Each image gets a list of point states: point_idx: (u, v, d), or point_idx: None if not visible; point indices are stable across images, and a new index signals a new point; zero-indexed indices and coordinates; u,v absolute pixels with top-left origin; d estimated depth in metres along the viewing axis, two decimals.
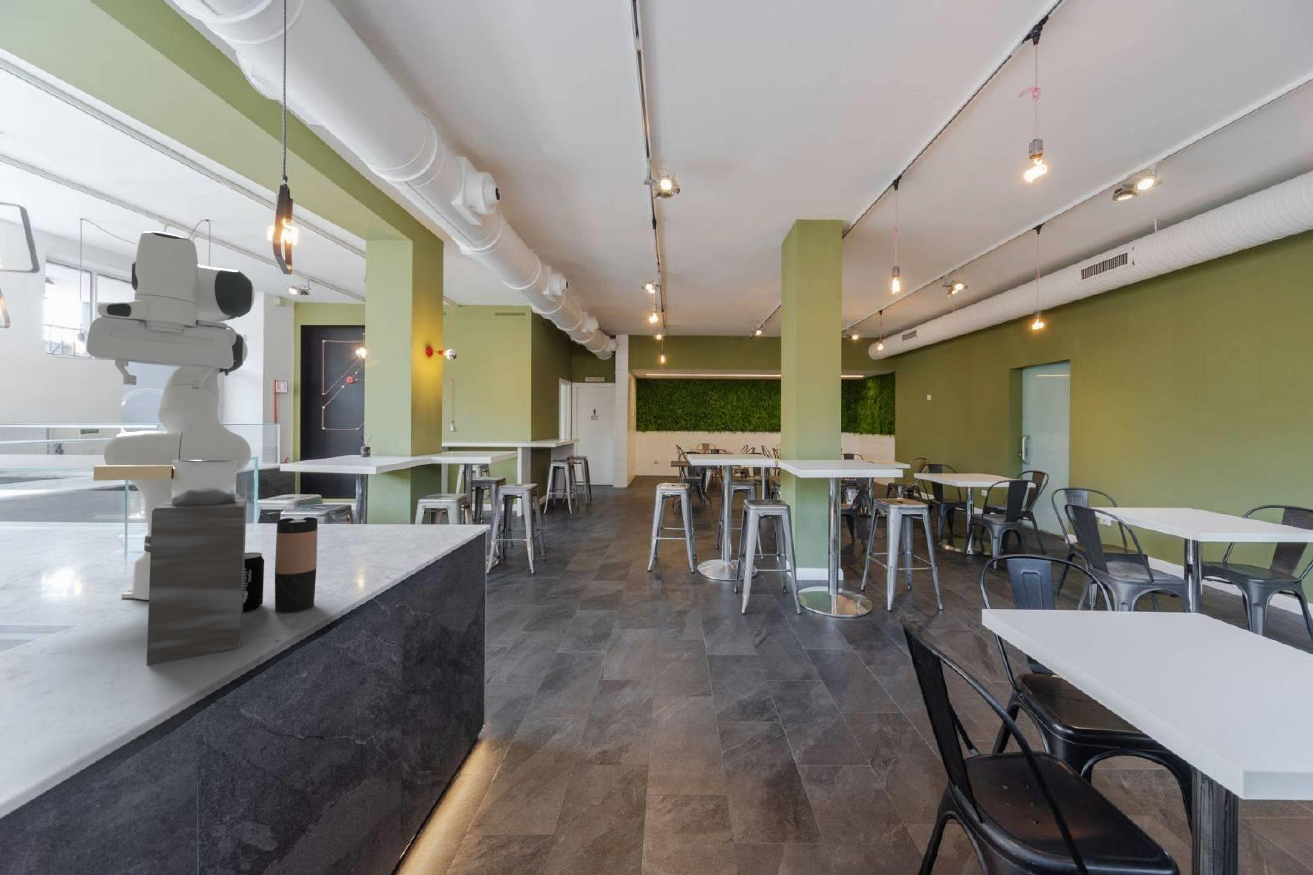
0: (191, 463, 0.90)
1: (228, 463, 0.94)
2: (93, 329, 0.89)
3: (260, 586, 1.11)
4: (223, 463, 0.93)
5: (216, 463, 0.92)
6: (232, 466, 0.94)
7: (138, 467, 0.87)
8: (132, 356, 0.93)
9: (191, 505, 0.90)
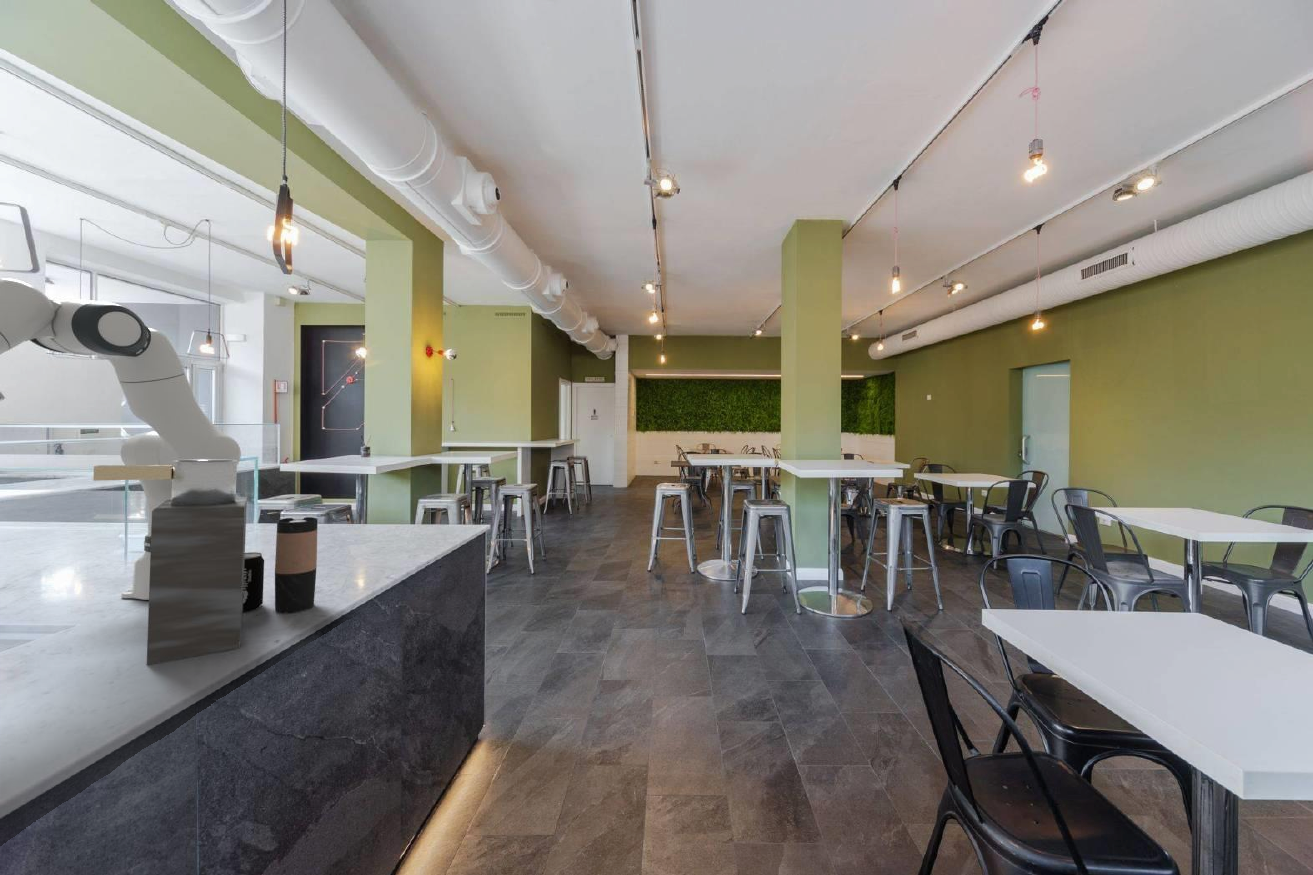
0: (191, 463, 0.90)
1: (228, 463, 0.94)
2: None
3: (260, 586, 1.11)
4: (223, 463, 0.93)
5: (216, 463, 0.92)
6: (232, 466, 0.94)
7: (138, 467, 0.87)
8: None
9: (191, 505, 0.90)
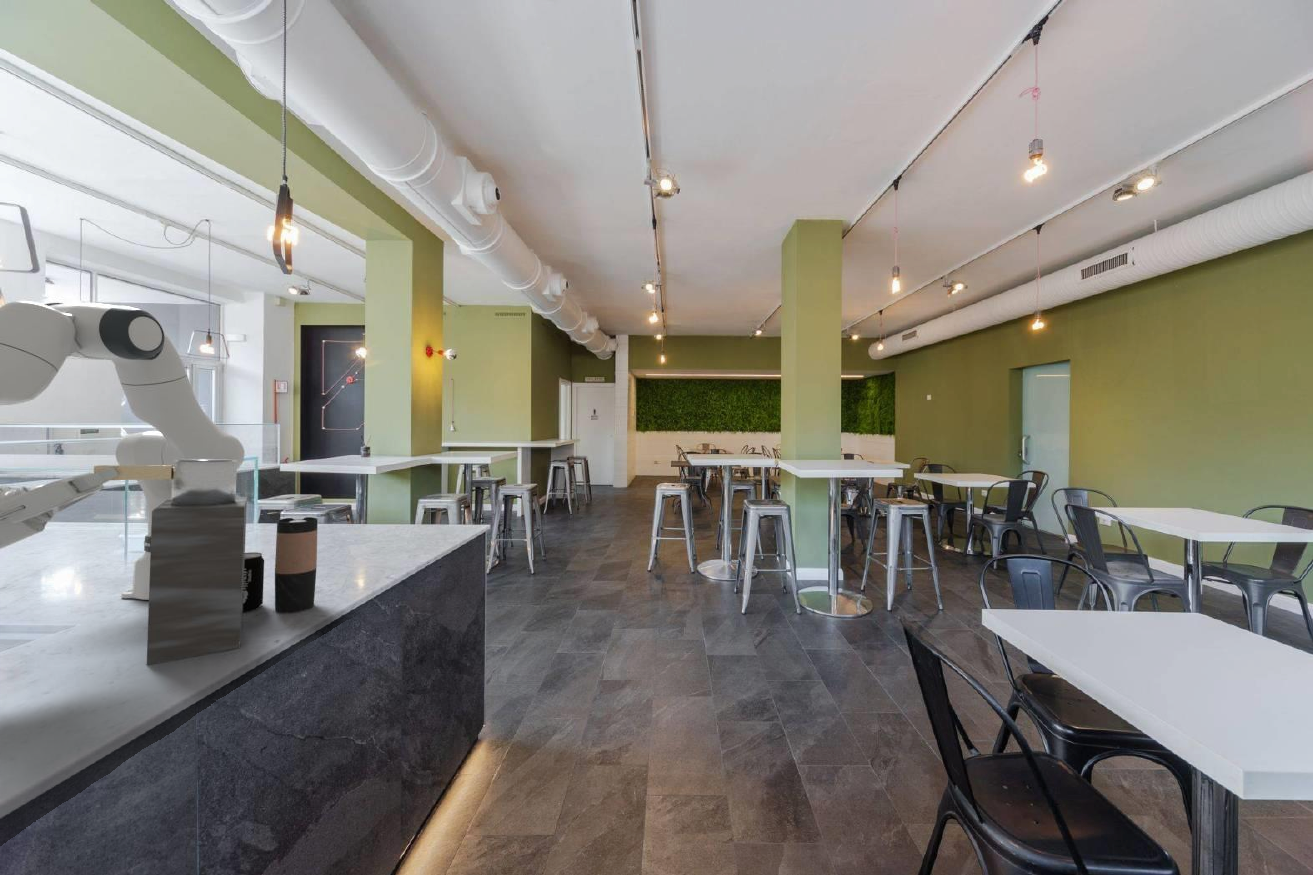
0: (191, 463, 0.90)
1: (228, 463, 0.94)
2: None
3: (260, 586, 1.11)
4: (223, 463, 0.93)
5: (216, 463, 0.92)
6: (231, 466, 0.94)
7: (138, 467, 0.87)
8: (93, 492, 0.88)
9: (191, 505, 0.90)
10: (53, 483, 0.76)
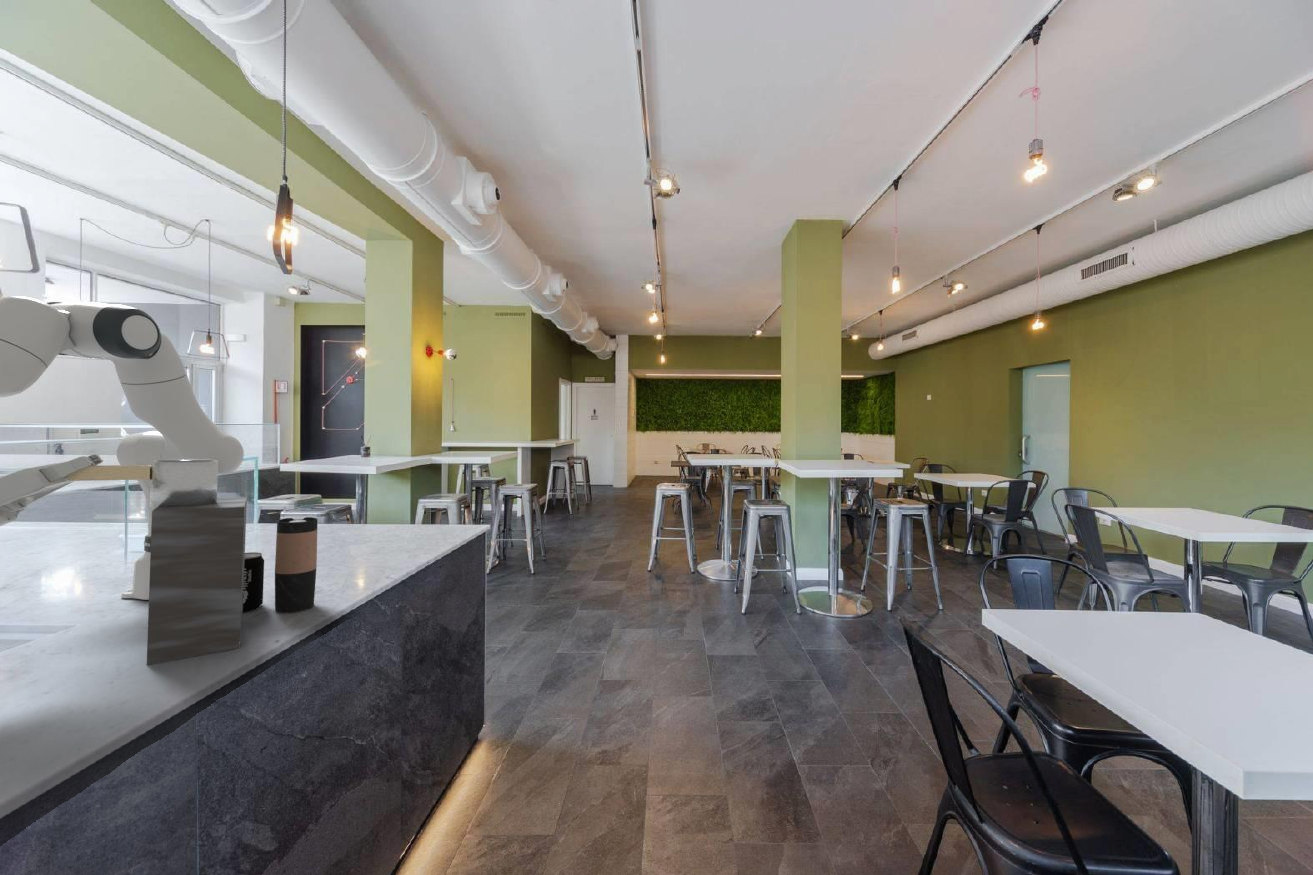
0: (170, 463, 0.88)
1: (208, 463, 0.92)
2: (48, 493, 0.88)
3: (260, 586, 1.11)
4: (203, 463, 0.91)
5: (196, 463, 0.90)
6: (212, 466, 0.93)
7: (115, 467, 0.86)
8: (68, 481, 0.86)
9: (170, 506, 0.88)
10: (23, 471, 0.74)
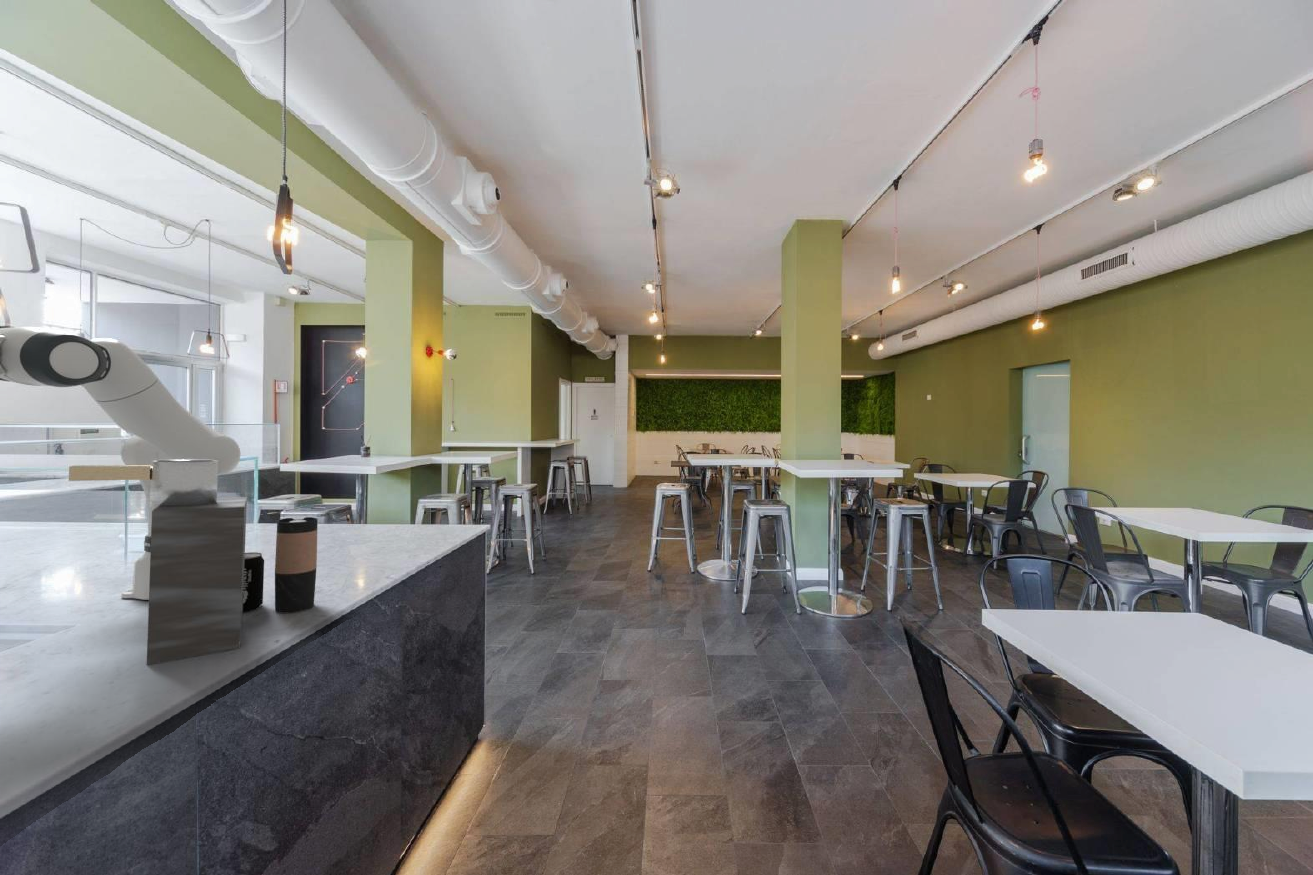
0: (170, 463, 0.88)
1: (208, 463, 0.92)
2: None
3: (260, 586, 1.11)
4: (203, 463, 0.91)
5: (196, 463, 0.90)
6: (212, 466, 0.93)
7: (115, 467, 0.86)
8: None
9: (170, 506, 0.88)
10: None
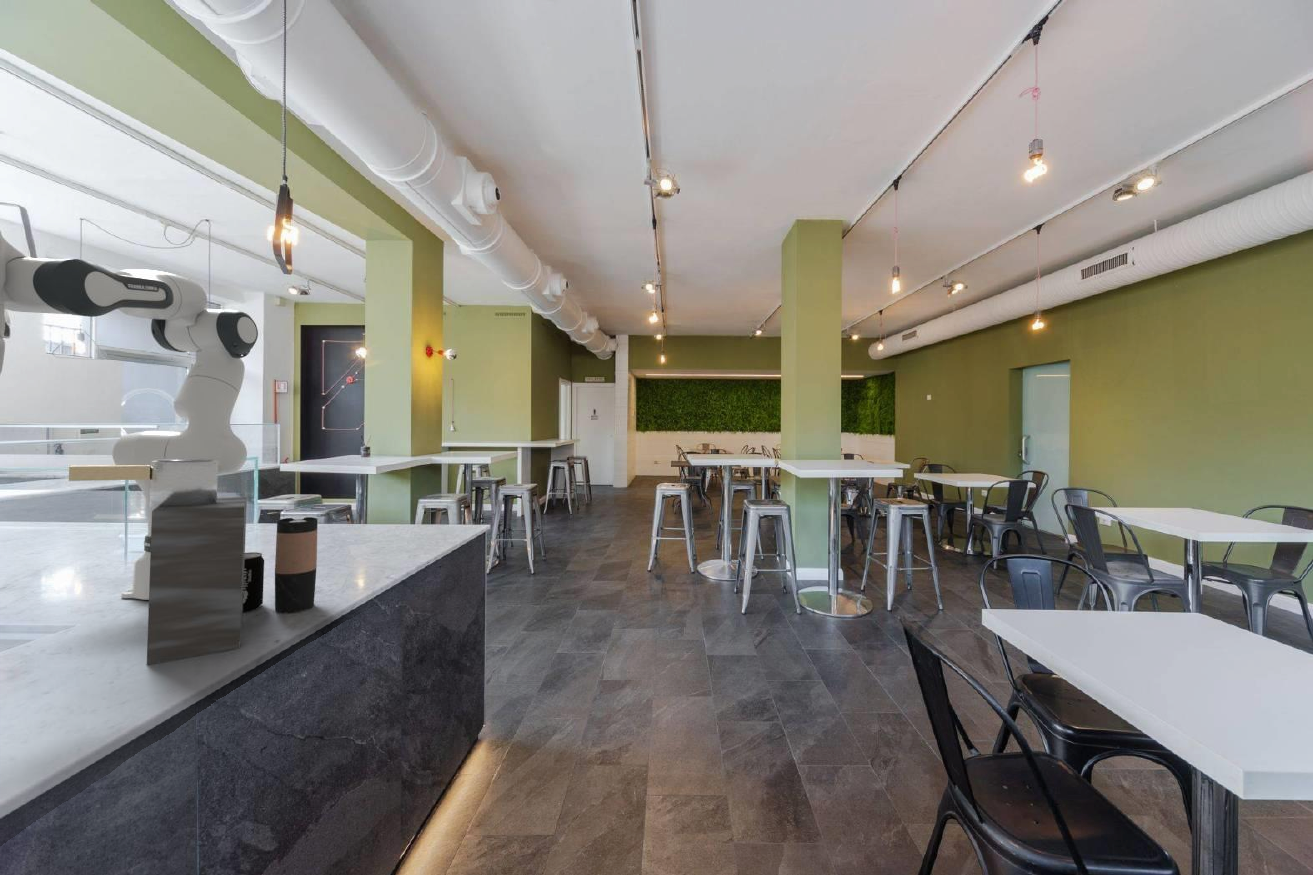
0: (170, 463, 0.88)
1: (208, 463, 0.92)
2: None
3: (261, 586, 1.11)
4: (203, 463, 0.91)
5: (196, 463, 0.90)
6: (212, 466, 0.93)
7: (115, 467, 0.86)
8: None
9: (170, 506, 0.88)
10: None
